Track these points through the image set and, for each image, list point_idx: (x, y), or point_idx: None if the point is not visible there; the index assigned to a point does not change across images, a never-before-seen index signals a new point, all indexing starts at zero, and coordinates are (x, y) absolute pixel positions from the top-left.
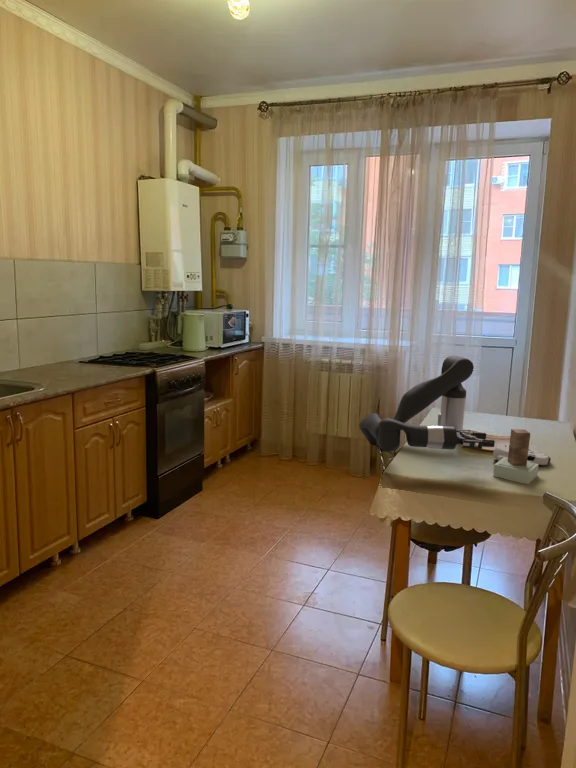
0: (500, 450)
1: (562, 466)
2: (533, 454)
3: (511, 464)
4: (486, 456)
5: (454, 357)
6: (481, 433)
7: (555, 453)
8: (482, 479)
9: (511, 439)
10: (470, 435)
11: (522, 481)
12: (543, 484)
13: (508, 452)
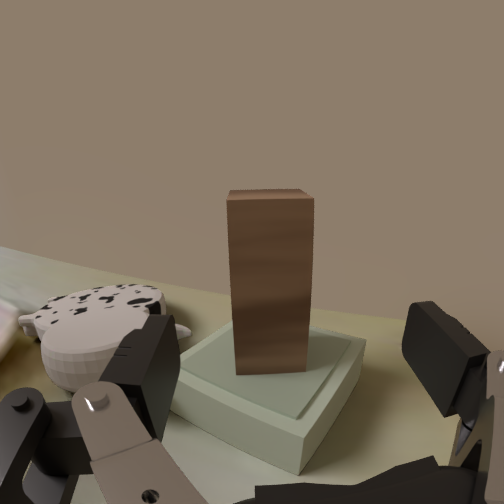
0: (96, 354)
1: (163, 290)
2: (127, 299)
3: (293, 372)
4: None
5: None
6: (161, 340)
7: (79, 279)
8: None
9: (252, 260)
10: (498, 457)
11: (353, 387)
12: None
13: None
